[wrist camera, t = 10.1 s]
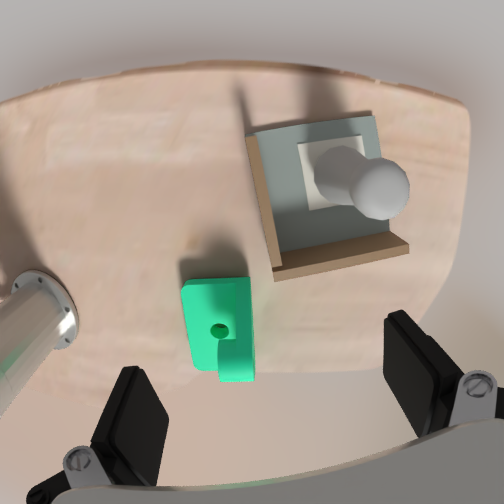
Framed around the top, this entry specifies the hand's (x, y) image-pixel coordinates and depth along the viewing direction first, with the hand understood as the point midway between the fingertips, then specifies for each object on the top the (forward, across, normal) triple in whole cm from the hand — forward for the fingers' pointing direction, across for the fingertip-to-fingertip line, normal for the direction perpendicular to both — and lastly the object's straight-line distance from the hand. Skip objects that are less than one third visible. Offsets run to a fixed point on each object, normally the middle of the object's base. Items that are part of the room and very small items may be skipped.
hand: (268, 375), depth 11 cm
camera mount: (+25, +6, +11) cm, 27 cm away
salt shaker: (+23, -10, -4) cm, 25 cm away
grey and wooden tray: (+24, -9, -2) cm, 25 cm away
